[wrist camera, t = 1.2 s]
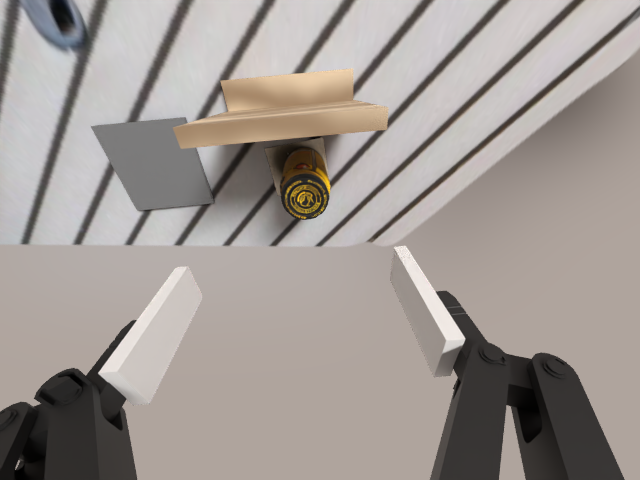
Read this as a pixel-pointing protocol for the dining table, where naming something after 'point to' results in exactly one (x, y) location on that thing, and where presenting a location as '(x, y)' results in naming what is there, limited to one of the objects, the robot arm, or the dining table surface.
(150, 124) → the mat
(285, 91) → the screen
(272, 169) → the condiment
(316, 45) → the dining table surface
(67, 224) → the dining table surface
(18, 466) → the robot arm
